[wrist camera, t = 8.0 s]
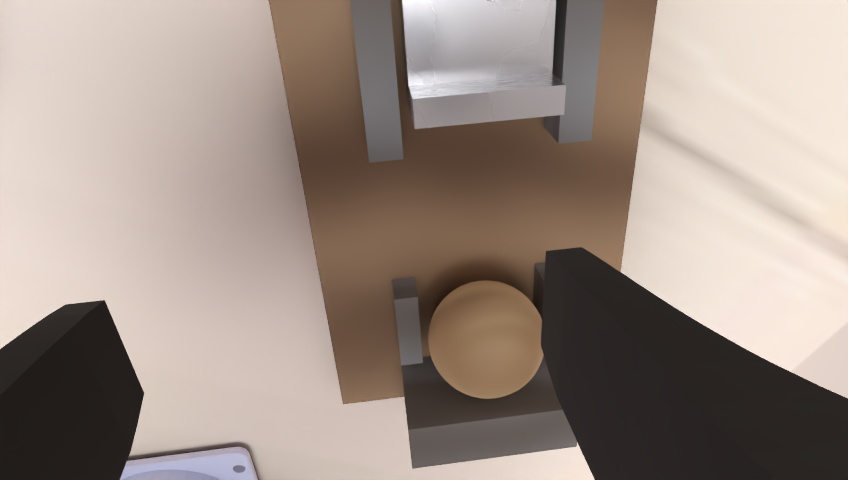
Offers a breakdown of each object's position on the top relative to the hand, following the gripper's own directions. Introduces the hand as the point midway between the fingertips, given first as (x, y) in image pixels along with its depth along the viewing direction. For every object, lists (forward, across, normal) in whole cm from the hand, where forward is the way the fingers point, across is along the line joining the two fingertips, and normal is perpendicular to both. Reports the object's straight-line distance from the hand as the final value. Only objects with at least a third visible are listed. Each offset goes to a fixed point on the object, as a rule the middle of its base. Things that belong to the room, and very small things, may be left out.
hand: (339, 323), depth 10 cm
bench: (+10, -4, +2) cm, 11 cm away
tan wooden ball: (+9, -4, +7) cm, 12 cm away
